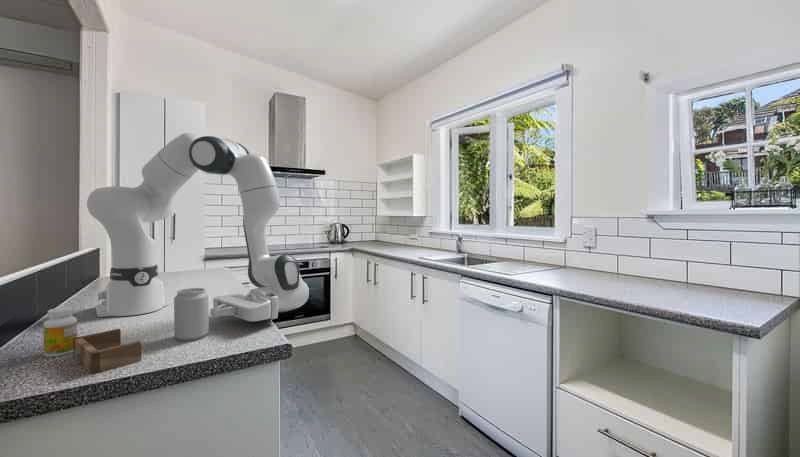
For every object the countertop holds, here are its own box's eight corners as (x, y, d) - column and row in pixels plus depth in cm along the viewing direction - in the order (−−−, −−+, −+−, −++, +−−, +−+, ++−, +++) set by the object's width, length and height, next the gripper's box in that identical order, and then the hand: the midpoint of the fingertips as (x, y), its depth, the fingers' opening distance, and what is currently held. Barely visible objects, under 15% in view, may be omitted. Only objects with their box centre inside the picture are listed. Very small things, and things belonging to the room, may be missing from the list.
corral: (73, 356, 75) (72, 338, 75) (118, 345, 82) (118, 328, 82) (92, 374, 67) (91, 353, 67) (141, 360, 74) (141, 341, 74)
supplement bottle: (36, 356, 75) (35, 311, 75) (64, 347, 81) (63, 305, 80) (58, 358, 75) (57, 313, 74) (84, 348, 80) (83, 306, 79)
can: (193, 343, 84) (192, 293, 84) (166, 340, 85) (166, 292, 85) (215, 333, 91) (215, 287, 91) (190, 330, 93) (190, 286, 92)
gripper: (241, 287, 110) (194, 295, 98) (280, 297, 98) (232, 307, 87) (241, 307, 110) (194, 317, 99) (280, 319, 98) (233, 332, 87)
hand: (212, 312), depth 93 cm, fingers closed
